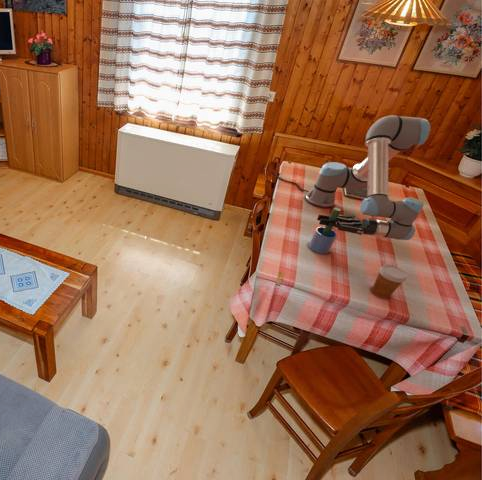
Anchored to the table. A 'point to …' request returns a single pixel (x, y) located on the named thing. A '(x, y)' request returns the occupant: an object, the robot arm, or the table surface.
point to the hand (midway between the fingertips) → (319, 219)
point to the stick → (333, 216)
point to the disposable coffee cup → (388, 280)
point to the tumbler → (322, 241)
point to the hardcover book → (356, 193)
